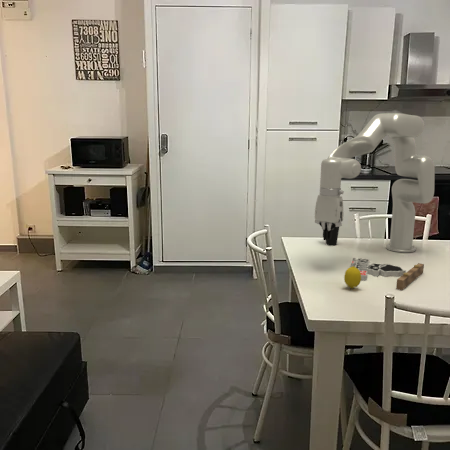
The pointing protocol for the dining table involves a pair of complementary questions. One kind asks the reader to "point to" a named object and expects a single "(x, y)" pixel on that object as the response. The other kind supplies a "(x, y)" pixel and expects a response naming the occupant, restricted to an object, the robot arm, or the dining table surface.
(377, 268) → the decorative sign
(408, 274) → the walnut ledge
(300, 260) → the dining table surface
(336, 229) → the drinking cup
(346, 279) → the lemon
